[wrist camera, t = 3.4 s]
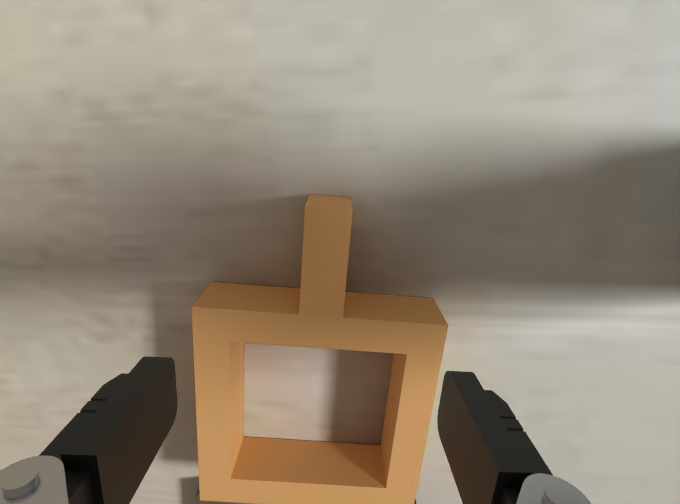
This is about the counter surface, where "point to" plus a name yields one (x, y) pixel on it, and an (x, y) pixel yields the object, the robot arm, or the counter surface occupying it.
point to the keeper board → (217, 503)
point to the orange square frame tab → (316, 332)
